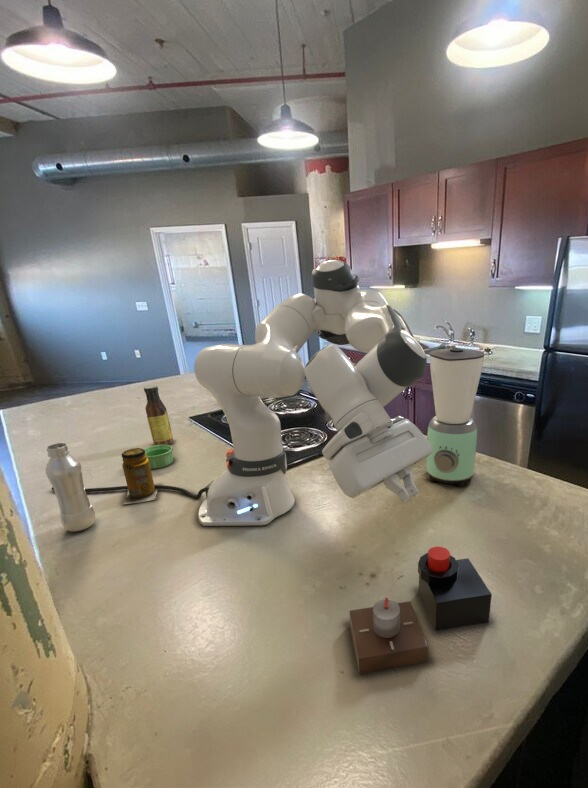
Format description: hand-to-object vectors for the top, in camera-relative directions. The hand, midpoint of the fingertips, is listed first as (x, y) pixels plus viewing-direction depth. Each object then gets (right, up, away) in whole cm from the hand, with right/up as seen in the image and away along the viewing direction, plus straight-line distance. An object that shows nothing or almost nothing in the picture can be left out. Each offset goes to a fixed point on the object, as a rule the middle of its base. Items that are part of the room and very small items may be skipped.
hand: (411, 497), depth 68 cm
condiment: (-66, -6, +40) cm, 78 cm away
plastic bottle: (-73, -11, +27) cm, 78 cm away
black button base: (+7, -19, +2) cm, 20 cm away
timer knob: (-4, -19, -6) cm, 20 cm away
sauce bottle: (-77, +7, +74) cm, 107 cm away
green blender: (+16, -1, +47) cm, 50 cm away
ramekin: (-71, +1, +58) cm, 92 cm away
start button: (+5, -11, +1) cm, 12 cm away
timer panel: (-4, -21, -5) cm, 22 cm away
